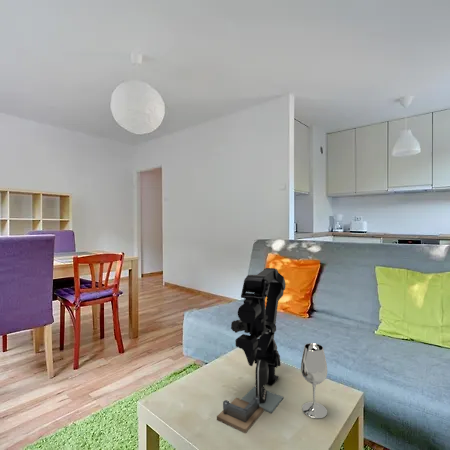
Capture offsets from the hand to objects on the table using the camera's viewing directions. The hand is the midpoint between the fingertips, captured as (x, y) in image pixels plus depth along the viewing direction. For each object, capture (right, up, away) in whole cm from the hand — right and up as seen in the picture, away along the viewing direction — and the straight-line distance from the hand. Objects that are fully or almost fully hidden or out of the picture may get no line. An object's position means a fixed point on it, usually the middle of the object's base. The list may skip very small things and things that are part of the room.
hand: (257, 359), depth 97 cm
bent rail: (-6, -12, -7) cm, 15 cm away
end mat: (+2, -13, -1) cm, 13 cm away
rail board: (-6, -13, -8) cm, 17 cm away
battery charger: (+2, -13, 0) cm, 13 cm away
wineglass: (+17, -13, -6) cm, 22 cm away
